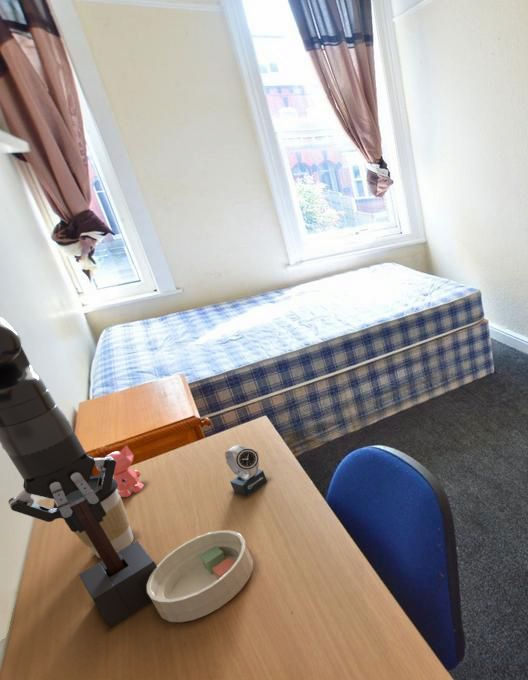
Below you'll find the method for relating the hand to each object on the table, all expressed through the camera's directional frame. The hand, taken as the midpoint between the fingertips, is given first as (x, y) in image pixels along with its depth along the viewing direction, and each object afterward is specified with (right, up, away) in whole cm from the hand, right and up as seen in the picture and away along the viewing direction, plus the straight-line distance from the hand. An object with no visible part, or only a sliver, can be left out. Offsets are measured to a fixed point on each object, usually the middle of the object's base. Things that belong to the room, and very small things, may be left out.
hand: (90, 524), depth 78 cm
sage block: (+14, -12, +11) cm, 22 cm away
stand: (+2, -16, +7) cm, 17 cm away
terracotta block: (+19, -13, +8) cm, 24 cm away
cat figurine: (-21, -6, +35) cm, 41 cm away
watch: (+9, -4, +33) cm, 34 cm away
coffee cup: (-12, -12, +19) cm, 25 cm away
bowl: (+15, -14, +7) cm, 22 cm away
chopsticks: (+1, -10, +4) cm, 11 cm away
